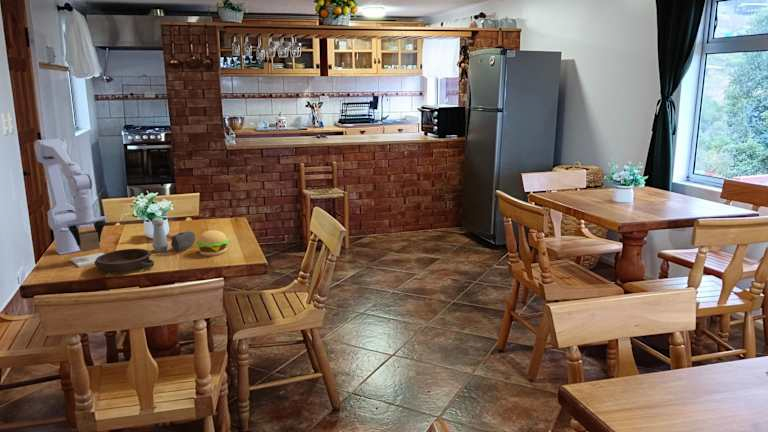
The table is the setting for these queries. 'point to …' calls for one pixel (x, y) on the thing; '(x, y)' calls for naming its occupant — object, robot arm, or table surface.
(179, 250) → the perforated stone tool
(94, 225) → the robot arm
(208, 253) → the hamburger
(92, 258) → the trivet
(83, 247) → the walnut cube
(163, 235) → the salt shaker
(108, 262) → the dish
